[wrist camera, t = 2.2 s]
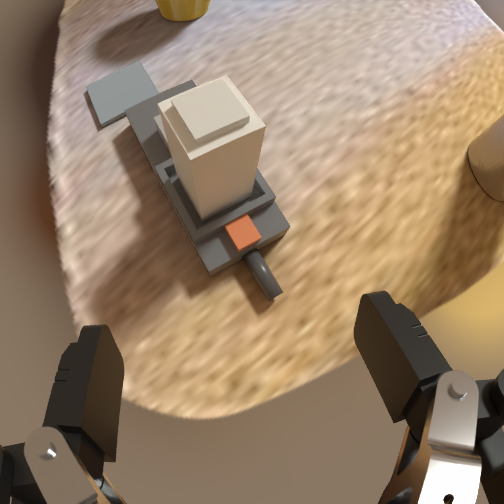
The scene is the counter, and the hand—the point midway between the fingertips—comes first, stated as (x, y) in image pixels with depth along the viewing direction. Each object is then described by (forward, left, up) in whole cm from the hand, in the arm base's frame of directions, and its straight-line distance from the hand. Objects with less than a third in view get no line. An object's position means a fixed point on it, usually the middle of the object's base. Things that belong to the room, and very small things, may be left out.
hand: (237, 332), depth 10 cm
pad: (-1, -28, -17) cm, 32 cm away
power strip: (-4, -11, -17) cm, 21 cm away
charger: (-4, -11, -15) cm, 19 cm away
